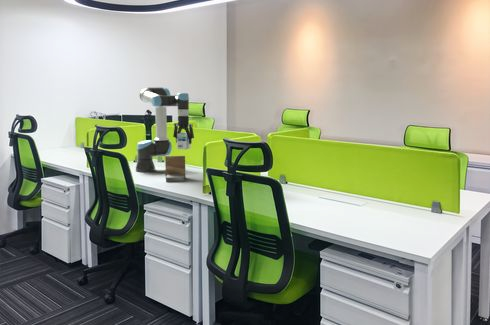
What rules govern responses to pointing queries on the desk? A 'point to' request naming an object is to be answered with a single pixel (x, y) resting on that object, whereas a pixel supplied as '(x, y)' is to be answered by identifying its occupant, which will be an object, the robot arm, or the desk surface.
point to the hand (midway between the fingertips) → (183, 147)
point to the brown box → (175, 168)
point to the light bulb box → (182, 140)
